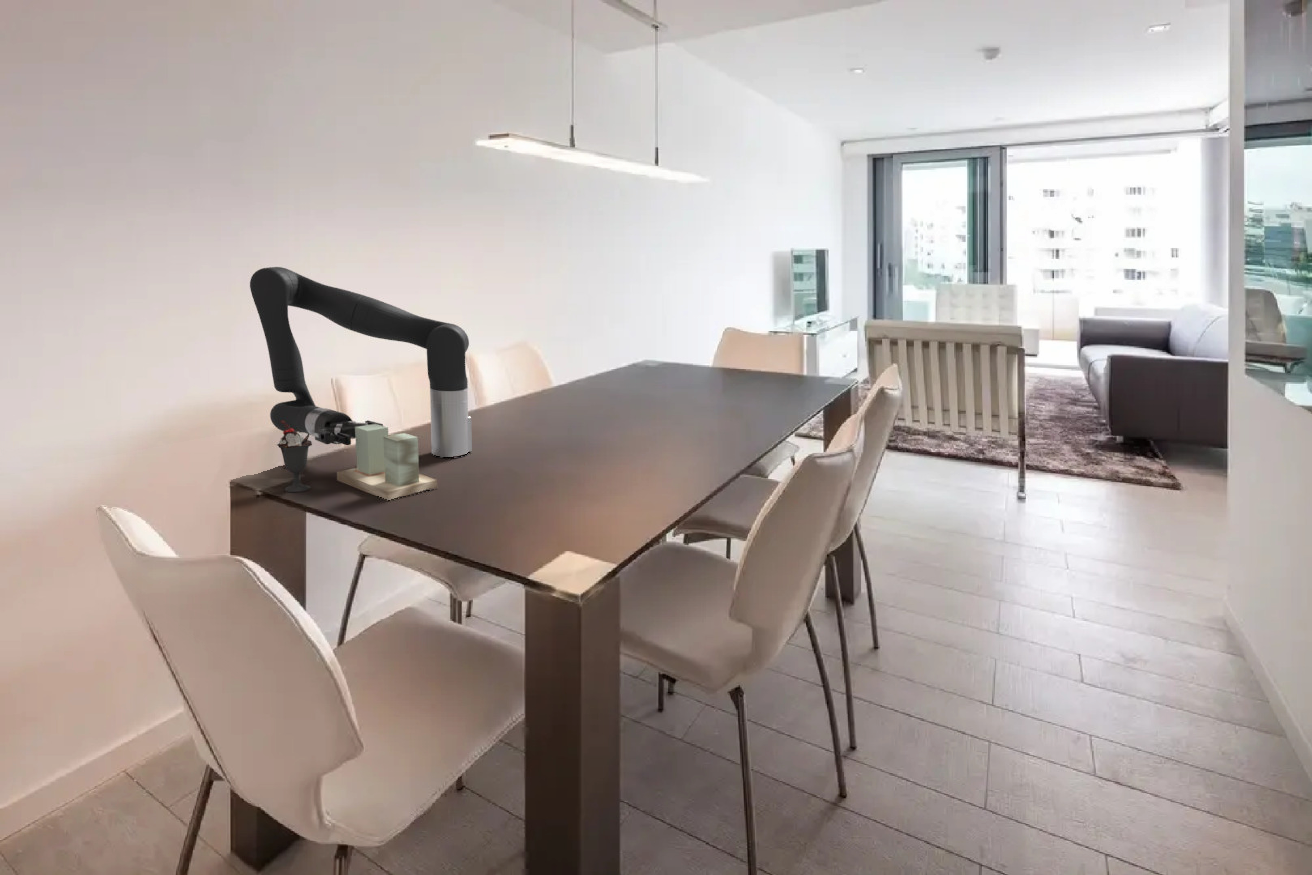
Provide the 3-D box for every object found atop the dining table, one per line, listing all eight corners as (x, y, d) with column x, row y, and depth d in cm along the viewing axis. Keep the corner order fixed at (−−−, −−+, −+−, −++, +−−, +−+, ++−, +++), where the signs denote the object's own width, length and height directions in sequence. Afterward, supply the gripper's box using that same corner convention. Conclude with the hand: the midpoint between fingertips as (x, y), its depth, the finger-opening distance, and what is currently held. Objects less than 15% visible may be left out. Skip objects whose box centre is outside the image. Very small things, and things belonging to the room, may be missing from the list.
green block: (377, 466, 168) (375, 423, 166) (389, 470, 165) (388, 427, 163) (357, 470, 165) (354, 427, 162) (369, 474, 162) (367, 430, 159)
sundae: (274, 488, 156) (268, 420, 153) (305, 482, 161) (300, 416, 158) (289, 495, 152) (283, 425, 149) (320, 489, 157) (316, 421, 154)
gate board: (385, 470, 173) (383, 420, 170) (437, 488, 161) (435, 435, 159) (337, 480, 164) (334, 428, 161) (388, 500, 152) (386, 444, 149)
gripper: (298, 414, 168) (336, 426, 158) (355, 406, 179) (394, 417, 169) (300, 445, 169) (338, 459, 160) (357, 436, 180) (395, 448, 171)
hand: (367, 437), depth 165 cm, fingers open, 8 cm apart
